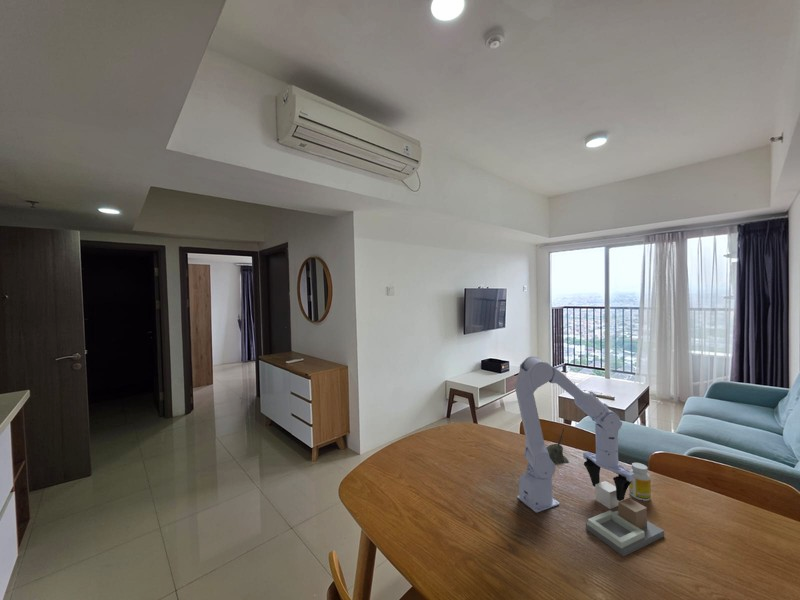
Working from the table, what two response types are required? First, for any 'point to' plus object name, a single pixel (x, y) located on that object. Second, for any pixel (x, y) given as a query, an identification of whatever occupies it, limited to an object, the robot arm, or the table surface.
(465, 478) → the table surface
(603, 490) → the block
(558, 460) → the sword in stone
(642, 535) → the base plate
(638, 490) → the supplement bottle
